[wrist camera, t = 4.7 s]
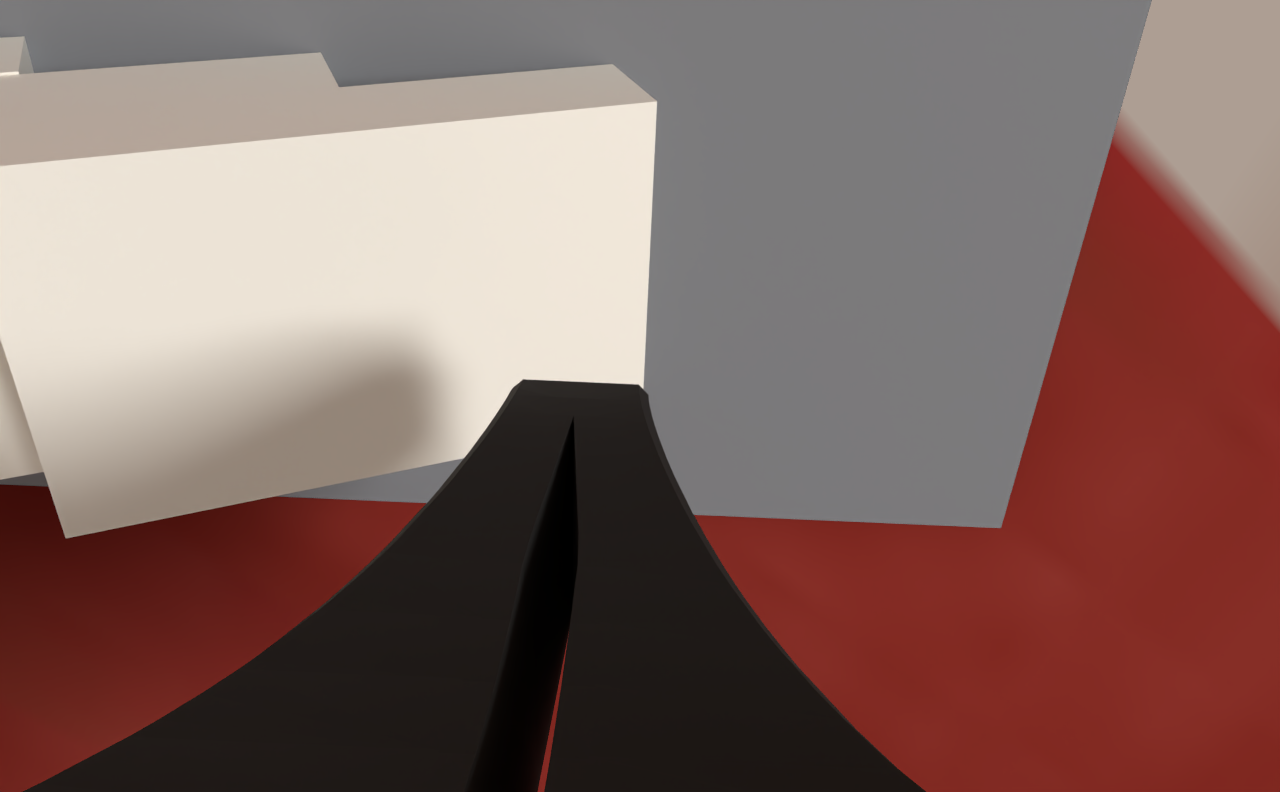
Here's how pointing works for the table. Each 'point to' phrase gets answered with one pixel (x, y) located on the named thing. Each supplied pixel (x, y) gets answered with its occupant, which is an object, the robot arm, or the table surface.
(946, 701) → the table surface
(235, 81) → the domino
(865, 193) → the mat
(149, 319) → the domino
